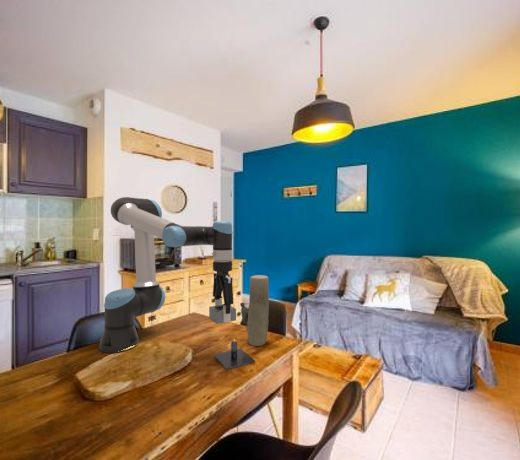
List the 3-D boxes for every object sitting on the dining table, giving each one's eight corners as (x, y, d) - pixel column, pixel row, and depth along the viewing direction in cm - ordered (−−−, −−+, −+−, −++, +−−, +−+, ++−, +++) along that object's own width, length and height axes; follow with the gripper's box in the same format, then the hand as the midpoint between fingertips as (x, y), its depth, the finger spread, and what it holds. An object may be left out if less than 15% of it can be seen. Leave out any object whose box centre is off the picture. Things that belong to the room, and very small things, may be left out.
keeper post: (214, 356, 113) (214, 336, 113) (240, 350, 119) (241, 331, 119) (226, 370, 102) (226, 348, 102) (254, 362, 109) (255, 341, 108)
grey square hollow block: (209, 318, 112) (209, 306, 112) (227, 314, 116) (227, 304, 116) (216, 323, 105) (216, 311, 105) (236, 320, 109) (236, 308, 109)
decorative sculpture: (235, 343, 126) (236, 276, 125) (244, 335, 135) (245, 273, 134) (263, 348, 121) (264, 279, 120) (271, 340, 130) (272, 275, 129)
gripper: (204, 258, 117) (204, 313, 117) (223, 264, 99) (223, 328, 99) (221, 257, 121) (221, 310, 121) (243, 262, 103) (242, 324, 103)
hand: (222, 318), depth 110 cm, fingers closed on grey square hollow block, 8 cm apart
